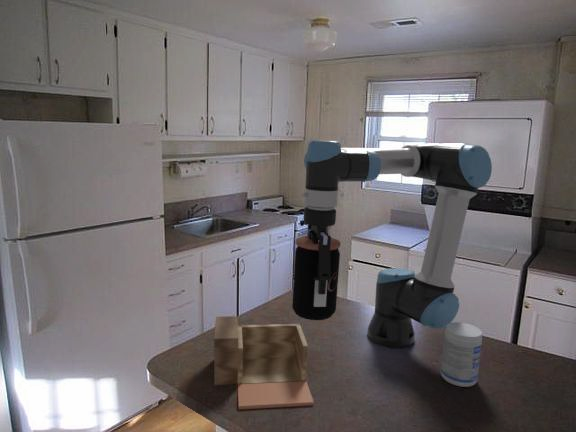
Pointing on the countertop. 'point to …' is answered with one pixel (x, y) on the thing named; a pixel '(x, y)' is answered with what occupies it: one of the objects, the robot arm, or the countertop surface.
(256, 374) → the box
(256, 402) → the panel
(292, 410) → the countertop surface
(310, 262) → the coffee jar
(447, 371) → the supplement tub
